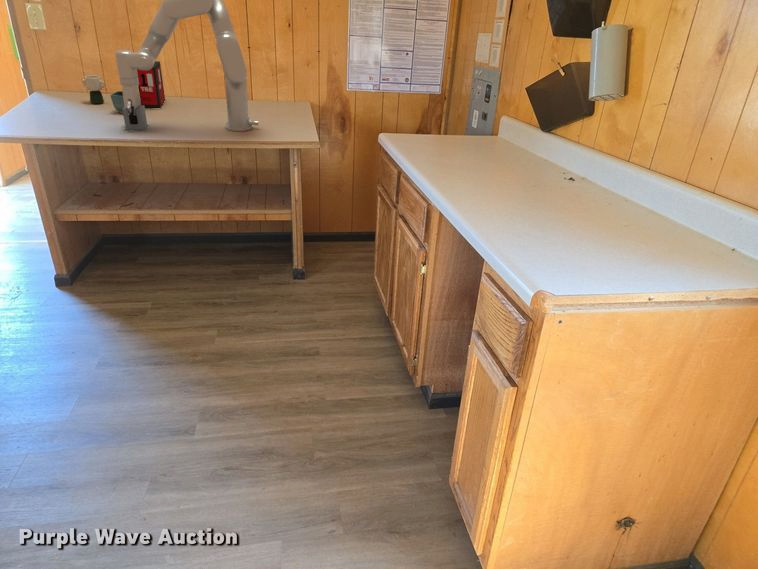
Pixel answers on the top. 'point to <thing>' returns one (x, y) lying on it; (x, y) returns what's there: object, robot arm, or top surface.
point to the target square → (134, 129)
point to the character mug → (94, 88)
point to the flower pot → (118, 101)
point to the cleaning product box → (151, 87)
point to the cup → (140, 118)
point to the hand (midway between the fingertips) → (136, 121)
